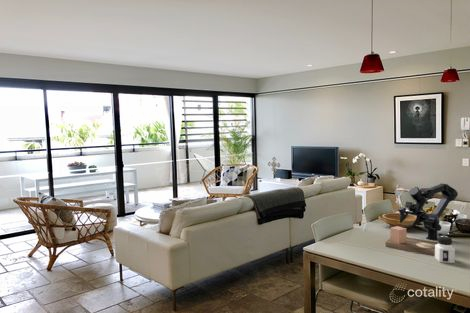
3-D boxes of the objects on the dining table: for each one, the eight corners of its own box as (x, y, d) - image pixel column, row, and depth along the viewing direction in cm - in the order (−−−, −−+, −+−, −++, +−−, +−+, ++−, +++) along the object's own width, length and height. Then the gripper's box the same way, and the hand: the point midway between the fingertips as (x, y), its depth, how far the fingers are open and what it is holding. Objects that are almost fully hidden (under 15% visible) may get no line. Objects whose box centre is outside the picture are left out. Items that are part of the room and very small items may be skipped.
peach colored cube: (397, 239, 230) (397, 226, 230) (406, 242, 225) (406, 228, 224) (390, 241, 227) (390, 227, 227) (399, 243, 222) (399, 230, 221)
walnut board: (394, 239, 240) (394, 231, 240) (442, 247, 222) (442, 239, 222) (385, 246, 226) (385, 238, 226) (436, 255, 208) (436, 246, 208)
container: (454, 263, 197) (455, 239, 196) (439, 262, 198) (439, 238, 197) (449, 258, 204) (450, 235, 203) (434, 257, 206) (435, 234, 205)
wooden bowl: (379, 230, 263) (379, 219, 262) (377, 222, 286) (377, 211, 285) (425, 232, 254) (425, 221, 253) (419, 224, 277) (419, 213, 276)
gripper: (399, 194, 238) (387, 213, 234) (426, 199, 221) (413, 219, 217) (407, 205, 242) (396, 223, 238) (434, 210, 225) (422, 230, 221)
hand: (406, 224), depth 228 cm, fingers open, 9 cm apart
